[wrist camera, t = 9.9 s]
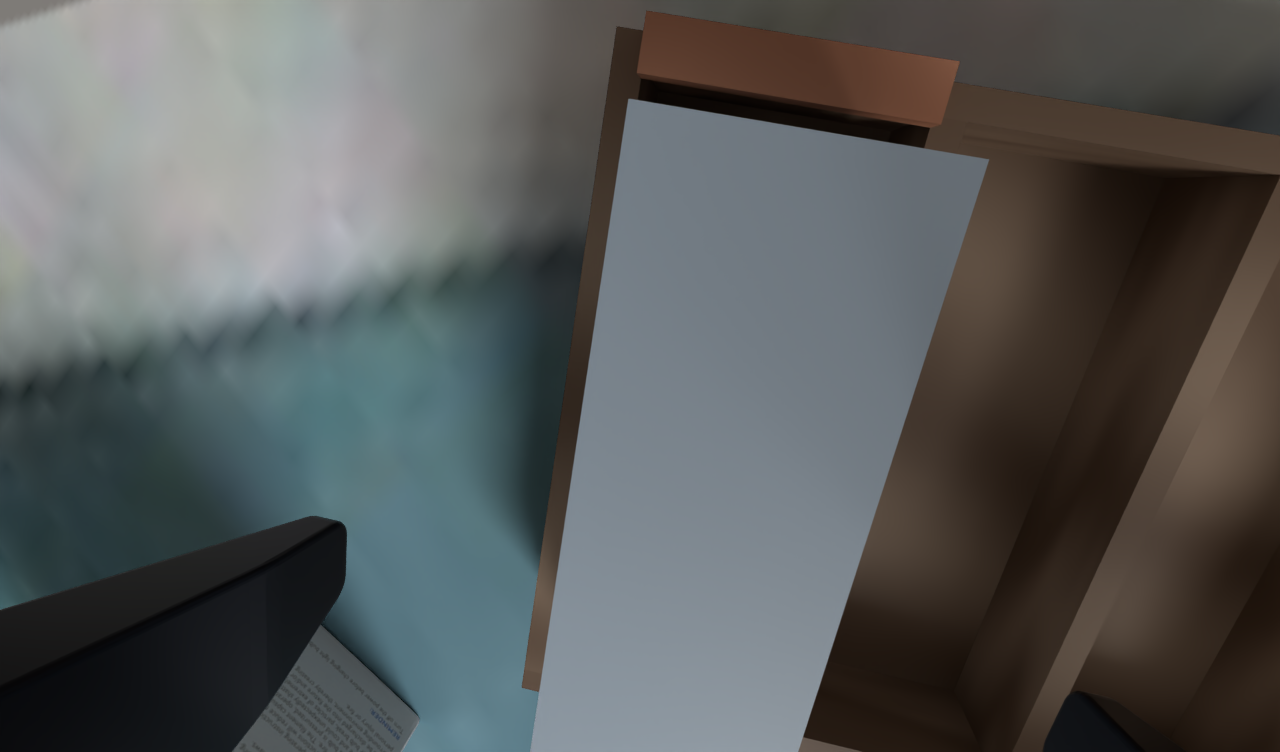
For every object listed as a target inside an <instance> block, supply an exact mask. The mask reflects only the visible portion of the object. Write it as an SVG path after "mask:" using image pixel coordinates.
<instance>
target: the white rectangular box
mask: <svg viewBox="0 0 1280 752" xmlns="http://www.w3.org/2000/svg"><path fill="white" fill-rule="evenodd" d="M988 162H989V159H983V158H978V157H972V156H966V155H960V154H954V153H948V152H942V151H936V150H930V149H924V148H918V147H912V146H906V145H901V144H895V143H889V142H883V141H877V140H871V139H865V138H859V137H853V136H847V135H841V134H835V133H829V132H824V131H818V130H812V129H806V128H800V127H794V126H788V125H782V124H776V123H770V122H764V121H758V120H752V119H747V118H741V117H735V116H729V115H723V114H717V113H711V112H705V111H699V110H693V109H687V108H681V107H675V106H670V105H664V104H658V103H652V102H646V101H640V100H634V99H628V105H627V112H626V118H625V125H624V132H623V138H622V145H621V152H620V158H619V165H618V172H617V178H616V185H615V191H614V198H613V205H612V211H611V218H610V225H609V231H608V238H607V245H606V251H605V258H604V265H603V271H602V278H601V285H600V291H599V298H598V305H597V311H596V318H595V325H594V331H593V338H592V345H591V351H590V358H589V364H588V371H587V378H586V384H585V391H584V398H583V404H582V411H581V418H580V424H579V431H578V438H577V444H576V451H575V458H574V464H573V471H572V478H571V484H570V491H569V498H568V504H567V511H566V517H565V524H564V531H563V537H562V544H561V551H560V557H559V564H558V571H557V577H556V584H555V591H554V597H553V604H552V611H551V617H550V624H549V631H548V637H547V644H546V651H545V657H544V664H543V670H542V677H541V684H540V690H539V697H538V704H537V710H536V717H535V724H534V730H533V737H532V744H531V750H530V752H798V751H799V748H800V745H801V742H802V738H803V735H804V732H805V729H806V726H807V723H808V720H809V717H810V714H811V711H812V707H813V704H814V701H815V698H816V695H817V692H818V689H819V686H820V683H821V680H822V676H823V673H824V670H825V667H826V664H827V661H828V658H829V655H830V652H831V649H832V645H833V642H834V639H835V636H836V633H837V630H838V627H839V624H840V621H841V618H842V614H843V611H844V608H845V605H846V602H847V599H848V596H849V593H850V590H851V587H852V583H853V580H854V577H855V574H856V571H857V568H858V565H859V562H860V559H861V556H862V552H863V549H864V546H865V543H866V540H867V537H868V534H869V531H870V528H871V525H872V521H873V518H874V515H875V512H876V509H877V506H878V503H879V500H880V497H881V494H882V490H883V487H884V484H885V481H886V478H887V475H888V472H889V469H890V466H891V463H892V459H893V456H894V453H895V450H896V447H897V444H898V441H899V438H900V435H901V432H902V428H903V425H904V422H905V419H906V416H907V413H908V410H909V407H910V404H911V401H912V397H913V394H914V391H915V388H916V385H917V382H918V379H919V376H920V373H921V370H922V366H923V363H924V360H925V357H926V354H927V351H928V348H929V345H930V342H931V339H932V335H933V332H934V329H935V326H936V323H937V320H938V317H939V314H940V311H941V308H942V304H943V301H944V298H945V295H946V292H947V289H948V286H949V283H950V280H951V277H952V273H953V270H954V267H955V264H956V261H957V258H958V255H959V252H960V249H961V246H962V242H963V239H964V236H965V233H966V230H967V227H968V224H969V221H970V218H971V215H972V211H973V208H974V205H975V202H976V199H977V196H978V193H979V190H980V187H981V184H982V180H983V177H984V174H985V171H986V168H987V165H988Z"/></svg>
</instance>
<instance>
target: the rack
mask: <svg viewBox="0 0 1280 752" xmlns="http://www.w3.org/2000/svg"><path fill="white" fill-rule="evenodd" d="M959 63H960V61H954V60H948V59H941V58H935V57H929V56H923V55H917V54H911V53H904V52H898V51H892V50H886V49H880V48H874V47H867V46H861V45H855V44H849V43H843V42H837V41H830V40H824V39H818V38H812V37H806V36H800V35H793V34H787V33H781V32H775V31H769V30H763V29H757V28H750V27H744V26H738V25H732V24H726V23H720V22H713V21H707V20H701V19H695V18H689V17H683V16H676V15H670V14H664V13H658V12H652V11H646V17H645V23H644V29H643V31H641V30H635V29H629V28H623V27H617V28H616V35H615V42H614V49H613V56H612V63H611V70H610V77H609V84H608V91H607V98H606V105H605V112H604V119H603V126H602V133H601V139H600V146H599V153H598V160H597V167H596V174H595V181H594V188H593V195H592V202H591V209H590V216H589V223H588V230H587V237H586V244H585V251H584V258H583V265H582V272H581V279H580V286H579V293H578V300H577V306H576V313H575V320H574V327H573V334H572V341H571V348H570V355H569V362H568V369H567V376H566V383H565V390H564V397H563V404H562V411H561V418H560V425H559V432H558V439H557V446H556V453H555V460H554V466H553V473H552V480H551V487H550V494H549V501H548V508H547V515H546V522H545V529H544V536H543V543H542V550H541V557H540V564H539V571H538V578H537V585H536V592H535V599H534V606H533V613H532V620H531V626H530V633H529V640H528V647H527V654H526V661H525V668H524V675H523V682H522V688H525V689H529V690H533V691H537V692H539V690H540V684H541V677H542V670H543V664H544V657H545V651H546V644H547V637H548V631H549V624H550V617H551V611H552V604H553V597H554V591H555V584H556V577H557V571H558V564H559V557H560V551H561V544H562V537H563V531H564V524H565V517H566V511H567V504H568V498H569V491H570V484H571V478H572V471H573V464H574V458H575V451H576V444H577V438H578V431H579V424H580V418H581V411H582V404H583V398H584V391H585V384H586V378H587V371H588V364H589V358H590V351H591V345H592V338H593V331H594V325H595V318H596V311H597V305H598V298H599V291H600V285H601V278H602V271H603V265H604V258H605V251H606V245H607V238H608V231H609V225H610V218H611V211H612V205H613V198H614V191H615V185H616V178H617V172H618V165H619V158H620V152H621V145H622V138H623V132H624V125H625V118H626V112H627V105H628V99H634V100H640V101H646V102H652V103H658V104H664V105H670V106H675V107H681V108H687V109H693V110H699V111H705V112H711V113H717V114H723V115H729V116H735V117H741V118H747V119H752V120H758V121H764V122H770V123H776V124H782V125H788V126H794V127H800V128H806V129H812V130H818V131H824V132H829V133H835V134H841V135H847V136H853V137H859V138H865V139H871V140H877V141H883V142H889V143H895V144H901V145H906V146H912V147H918V148H924V149H930V150H936V151H942V152H948V153H954V154H960V155H966V156H972V157H978V158H983V159H989V162H988V165H987V168H986V171H985V174H984V177H983V180H982V184H981V187H980V190H979V193H978V196H977V199H976V202H975V205H974V208H973V211H972V215H971V218H970V221H969V224H968V227H967V230H966V233H965V236H964V239H963V242H962V246H961V249H960V252H959V255H958V258H957V261H956V264H955V267H954V270H953V273H952V277H951V280H950V283H949V286H948V289H947V292H946V295H945V298H944V301H943V304H942V308H941V311H940V314H939V317H938V320H937V323H936V326H935V329H934V332H933V335H932V339H931V342H930V345H929V348H928V351H927V354H926V357H925V360H924V363H923V366H922V370H921V373H920V376H919V379H918V382H917V385H916V388H915V391H914V394H913V397H912V401H911V404H910V407H909V410H908V413H907V416H906V419H905V422H904V425H903V428H902V432H901V435H900V438H899V441H898V444H897V447H896V450H895V453H894V456H893V459H892V463H891V466H890V469H889V472H888V475H887V478H886V481H885V484H884V487H883V490H882V494H881V497H880V500H879V503H878V506H877V509H876V512H875V515H874V518H873V521H872V525H871V528H870V531H869V534H868V537H867V540H866V543H865V546H864V549H863V552H862V556H861V559H860V562H859V565H858V568H857V571H856V574H855V577H854V580H853V583H852V587H851V590H850V593H849V596H848V599H847V602H846V605H845V608H844V611H843V614H842V618H841V621H840V624H839V627H838V630H837V633H836V636H835V639H834V642H833V645H832V649H831V652H830V655H829V658H828V661H827V664H826V667H825V670H824V673H823V676H822V680H821V683H820V686H819V689H818V692H817V695H816V698H815V701H814V704H813V707H812V711H811V714H810V717H809V720H808V723H807V726H806V729H805V732H804V735H803V738H802V742H801V745H800V748H799V751H798V752H1043V747H1044V742H1045V739H1046V737H1047V735H1048V733H1049V731H1050V729H1051V727H1052V724H1053V722H1054V720H1055V718H1056V716H1057V714H1058V712H1059V710H1060V708H1061V706H1062V704H1063V702H1064V700H1065V698H1066V697H1067V695H1069V694H1070V693H1071V692H1073V691H1084V692H1088V693H1092V694H1097V695H1101V696H1106V697H1109V698H1112V699H1114V700H1116V701H1118V702H1119V703H1121V704H1122V705H1123V706H1125V707H1126V708H1127V709H1129V710H1130V711H1132V712H1133V713H1134V714H1136V715H1137V716H1139V717H1140V718H1141V719H1143V720H1144V721H1145V722H1147V723H1148V724H1150V725H1151V726H1152V727H1154V728H1155V729H1157V730H1158V731H1159V732H1161V733H1162V734H1164V735H1165V736H1166V737H1168V738H1169V739H1170V740H1172V741H1173V742H1175V743H1176V744H1177V745H1179V746H1180V747H1182V748H1183V749H1184V750H1186V751H1187V752H1280V136H1279V135H1273V134H1267V133H1261V132H1255V131H1249V130H1243V129H1237V128H1230V127H1224V126H1218V125H1212V124H1206V123H1200V122H1194V121H1188V120H1182V119H1176V118H1170V117H1164V116H1158V115H1152V114H1145V113H1139V112H1133V111H1127V110H1121V109H1115V108H1109V107H1103V106H1097V105H1091V104H1085V103H1079V102H1073V101H1067V100H1060V99H1054V98H1048V97H1042V96H1036V95H1030V94H1024V93H1018V92H1012V91H1006V90H1000V89H994V88H988V87H982V86H975V85H969V84H963V83H957V82H954V80H955V76H956V73H957V70H958V66H959Z"/></svg>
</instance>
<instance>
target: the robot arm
mask: <svg viewBox="0 0 1280 752" xmlns="http://www.w3.org/2000/svg"><path fill="white" fill-rule="evenodd" d="M346 547H347V531H346V527H345V525H344V524H343V523H342V522H340V521H336V520H332V519H328V518H323V517H319V516H309V517H305V518H302V519H299V520H295V521H292V522H289V523H285V524H282V525H279V526H276V527H272V528H269V529H266V530H262V531H259V532H256V533H252V534H249V535H246V536H243V537H239V538H236V539H233V540H229V541H226V542H223V543H219V544H216V545H213V546H210V547H206V548H203V549H200V550H196V551H193V552H190V553H186V554H183V555H180V556H177V557H173V558H170V559H167V560H163V561H160V562H157V563H153V564H150V565H147V566H144V567H140V568H137V569H134V570H130V571H127V572H124V573H120V574H117V575H114V576H111V577H107V578H104V579H101V580H97V581H94V582H91V583H87V584H84V585H81V586H78V587H74V588H71V589H68V590H64V591H61V592H58V593H54V594H51V595H48V596H45V597H41V598H38V599H35V600H31V601H28V602H25V603H21V604H18V605H15V606H12V607H8V608H5V609H2V610H0V752H232V751H233V750H234V749H235V748H236V746H237V745H238V744H239V742H240V741H241V740H242V739H243V737H244V736H245V735H246V734H247V732H248V731H249V730H250V728H251V727H252V726H253V725H254V723H255V722H256V721H257V719H258V718H259V717H260V715H261V714H262V713H263V711H264V710H265V709H266V707H267V706H268V705H269V703H270V702H271V700H272V699H273V697H274V696H275V694H276V693H277V691H278V690H279V689H280V687H281V686H282V684H283V682H284V681H285V679H286V678H287V676H288V675H289V673H290V672H291V670H292V668H293V667H294V665H295V664H296V662H297V661H298V659H299V658H300V656H301V654H302V653H303V651H304V650H305V648H306V647H307V645H308V644H309V642H310V640H311V639H312V637H313V636H314V634H315V633H316V631H317V630H318V628H319V627H320V625H321V623H322V622H323V620H324V619H325V617H326V616H327V614H328V613H329V611H330V609H331V608H332V606H333V605H334V603H335V602H336V600H337V599H338V597H339V595H340V593H341V591H342V589H343V586H344V582H345V576H346ZM1043 752H1187V751H1186V750H1184V749H1183V748H1182V747H1180V746H1179V745H1177V744H1176V743H1175V742H1173V741H1172V740H1170V739H1169V738H1168V737H1166V736H1165V735H1164V734H1162V733H1161V732H1159V731H1158V730H1157V729H1155V728H1154V727H1152V726H1151V725H1150V724H1148V723H1147V722H1145V721H1144V720H1143V719H1141V718H1140V717H1139V716H1137V715H1136V714H1134V713H1133V712H1132V711H1130V710H1129V709H1127V708H1126V707H1125V706H1123V705H1122V704H1121V703H1119V702H1118V701H1116V700H1114V699H1112V698H1109V697H1106V696H1101V695H1097V694H1092V693H1088V692H1084V691H1073V692H1071V693H1070V694H1069V695H1067V697H1066V698H1065V700H1064V702H1063V704H1062V706H1061V708H1060V710H1059V712H1058V714H1057V716H1056V718H1055V720H1054V722H1053V724H1052V727H1051V729H1050V731H1049V733H1048V735H1047V737H1046V739H1045V742H1044V747H1043Z"/></svg>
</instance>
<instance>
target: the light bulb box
mask: <svg viewBox="0 0 1280 752" xmlns="http://www.w3.org/2000/svg"><path fill="white" fill-rule="evenodd" d="M418 723H419V717H418V716H417V715H416V714H415V713H414V712H413V711H412V710H411V709H410V708H409V707H408V706H407V705H406V704H405V703H404V702H403V701H402V700H401V699H400V698H399V697H397V696H396V695H395V694H394V693H393V692H392V691H391V690H390V689H389V688H388V687H387V686H386V685H385V684H384V683H383V682H382V681H381V680H379V679H378V678H377V677H376V676H375V675H374V674H373V673H372V672H371V671H370V670H369V669H368V668H367V667H366V666H364V665H363V664H362V663H361V662H360V661H359V660H358V659H357V658H356V657H355V656H354V655H353V654H352V653H351V652H349V651H348V650H347V649H346V648H345V647H344V646H343V645H342V644H341V643H340V642H339V641H338V640H337V639H336V638H335V637H334V636H332V635H331V634H330V633H329V632H328V631H327V630H326V629H325V628H324V627H323V626H322V625H320V627H319V628H318V630H317V631H316V633H315V634H314V636H313V637H312V639H311V640H310V642H309V644H308V645H307V647H306V648H305V650H304V651H303V653H302V654H301V656H300V658H299V659H298V661H297V662H296V664H295V665H294V667H293V668H292V670H291V672H290V673H289V675H288V676H287V678H286V679H285V681H284V682H283V684H282V686H281V687H280V689H279V690H278V691H277V693H276V694H275V696H274V697H273V699H272V700H271V702H270V703H269V705H268V706H267V707H266V709H265V710H264V711H263V713H262V714H261V715H260V717H259V718H258V719H257V721H256V722H255V723H254V725H253V726H252V727H251V728H250V730H249V731H248V732H247V734H246V735H245V736H244V737H243V739H242V740H241V741H240V742H239V744H238V745H237V746H236V748H235V749H234V750H233V751H232V752H402V751H403V749H404V747H405V746H406V744H407V742H408V740H409V739H410V737H411V735H412V734H413V732H414V730H415V729H416V727H417V725H418Z"/></svg>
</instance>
